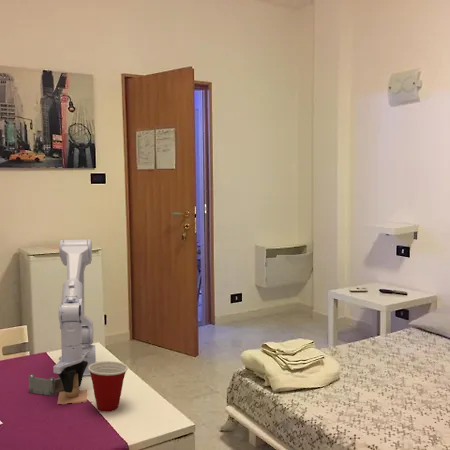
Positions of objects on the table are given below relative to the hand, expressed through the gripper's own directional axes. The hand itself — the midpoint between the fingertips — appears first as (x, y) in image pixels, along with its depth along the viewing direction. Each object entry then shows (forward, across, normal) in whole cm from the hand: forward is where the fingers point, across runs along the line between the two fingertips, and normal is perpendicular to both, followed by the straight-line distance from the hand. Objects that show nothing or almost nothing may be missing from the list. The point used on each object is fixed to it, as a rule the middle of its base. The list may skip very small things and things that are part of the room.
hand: (72, 389), depth 152 cm
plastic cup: (+3, +2, +13) cm, 14 cm away
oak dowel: (+2, 0, 0) cm, 2 cm away
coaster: (+3, 0, 0) cm, 3 cm away
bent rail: (+3, -1, -8) cm, 8 cm away
